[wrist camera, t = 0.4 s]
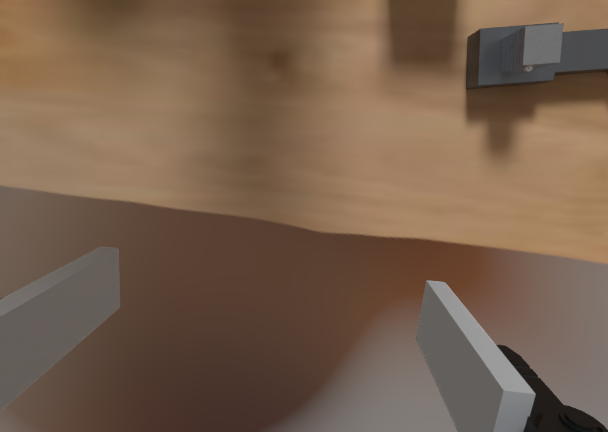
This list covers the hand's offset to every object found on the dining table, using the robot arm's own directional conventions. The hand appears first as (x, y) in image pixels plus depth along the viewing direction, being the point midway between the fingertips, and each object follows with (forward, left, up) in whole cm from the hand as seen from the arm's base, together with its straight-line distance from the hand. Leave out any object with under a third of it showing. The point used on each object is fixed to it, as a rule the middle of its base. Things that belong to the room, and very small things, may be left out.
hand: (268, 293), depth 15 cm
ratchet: (-12, +30, -26) cm, 42 cm away
